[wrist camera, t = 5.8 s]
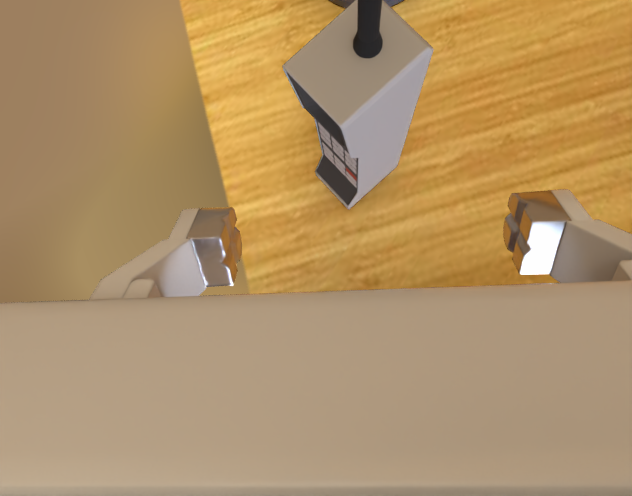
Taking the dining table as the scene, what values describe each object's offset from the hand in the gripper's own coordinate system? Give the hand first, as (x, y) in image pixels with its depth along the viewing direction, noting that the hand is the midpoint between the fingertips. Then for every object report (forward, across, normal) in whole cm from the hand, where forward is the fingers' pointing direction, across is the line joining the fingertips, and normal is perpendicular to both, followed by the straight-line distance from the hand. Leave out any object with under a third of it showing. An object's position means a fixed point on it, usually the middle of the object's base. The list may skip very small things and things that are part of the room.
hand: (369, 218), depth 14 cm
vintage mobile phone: (+20, 0, +9) cm, 22 cm away
